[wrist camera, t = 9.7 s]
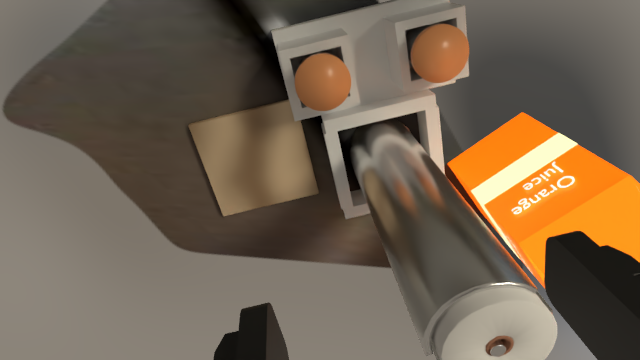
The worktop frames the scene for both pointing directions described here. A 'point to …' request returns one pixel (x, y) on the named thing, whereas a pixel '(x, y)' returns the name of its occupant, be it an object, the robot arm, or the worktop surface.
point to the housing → (370, 75)
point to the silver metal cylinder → (446, 256)
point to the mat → (255, 157)
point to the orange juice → (548, 191)
